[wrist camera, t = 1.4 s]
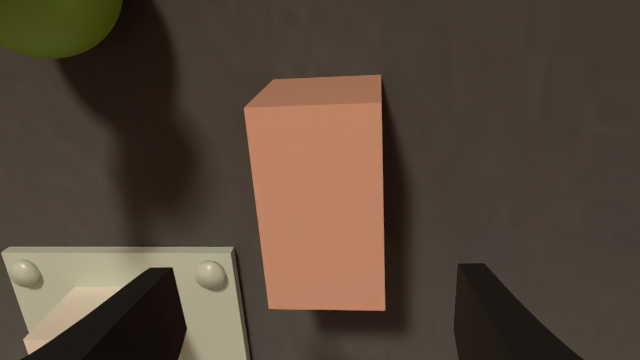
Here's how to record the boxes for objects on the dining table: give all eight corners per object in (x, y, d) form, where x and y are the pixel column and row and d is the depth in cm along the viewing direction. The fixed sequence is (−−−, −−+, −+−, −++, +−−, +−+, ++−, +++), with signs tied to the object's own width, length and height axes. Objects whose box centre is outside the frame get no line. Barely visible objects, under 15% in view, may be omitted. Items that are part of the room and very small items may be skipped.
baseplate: (260, 428, 28) (256, 444, 28) (68, 419, 30) (58, 433, 29) (233, 246, 24) (228, 257, 23) (9, 246, 26) (-5, 256, 25)
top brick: (384, 244, 23) (385, 310, 19) (290, 244, 24) (268, 308, 19) (381, 74, 20) (381, 102, 16) (273, 79, 21) (243, 107, 16)
